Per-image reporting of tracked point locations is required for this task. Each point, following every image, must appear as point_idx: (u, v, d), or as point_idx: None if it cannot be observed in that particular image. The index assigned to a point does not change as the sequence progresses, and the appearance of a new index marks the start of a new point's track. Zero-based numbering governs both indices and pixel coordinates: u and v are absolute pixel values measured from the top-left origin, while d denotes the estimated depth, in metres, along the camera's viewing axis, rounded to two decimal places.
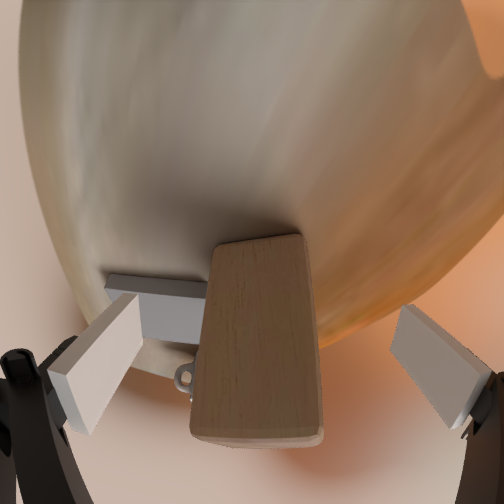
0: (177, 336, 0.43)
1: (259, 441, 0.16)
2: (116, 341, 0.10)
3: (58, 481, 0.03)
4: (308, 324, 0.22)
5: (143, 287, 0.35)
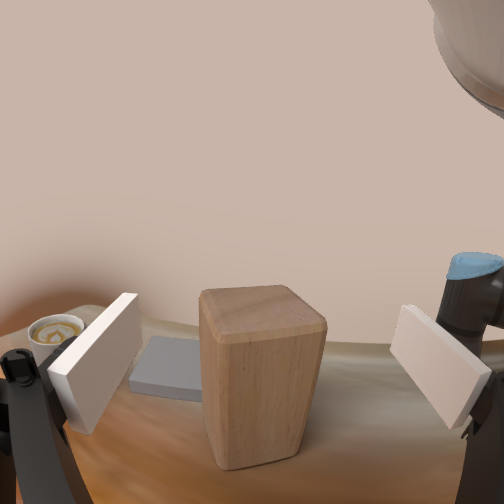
0: (152, 362, 0.42)
1: (302, 301, 0.27)
2: (116, 341, 0.10)
3: (58, 480, 0.03)
4: None
5: None
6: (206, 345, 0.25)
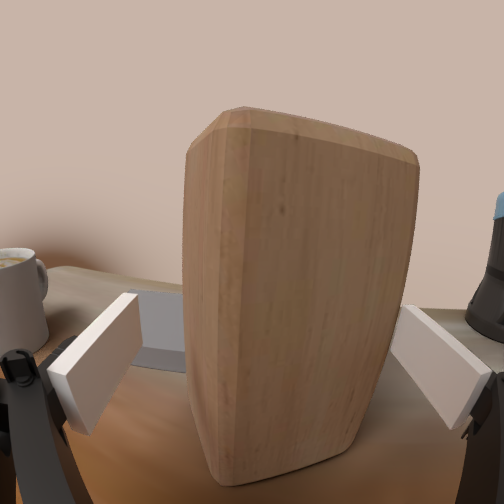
0: None
1: None
2: (116, 341, 0.10)
3: (57, 480, 0.03)
4: None
5: None
6: (193, 204, 0.13)
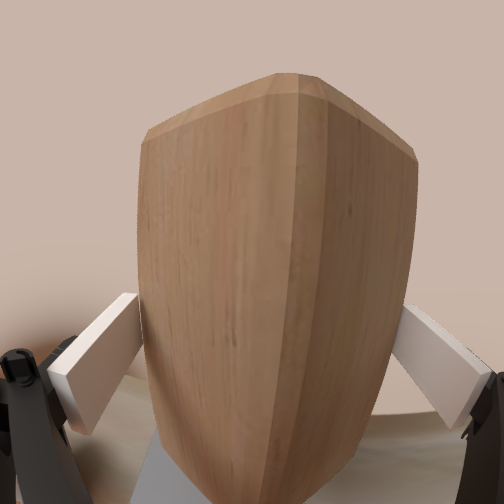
0: (158, 480, 0.22)
1: None
2: (116, 341, 0.10)
3: (58, 480, 0.03)
4: None
5: None
6: (183, 208, 0.09)
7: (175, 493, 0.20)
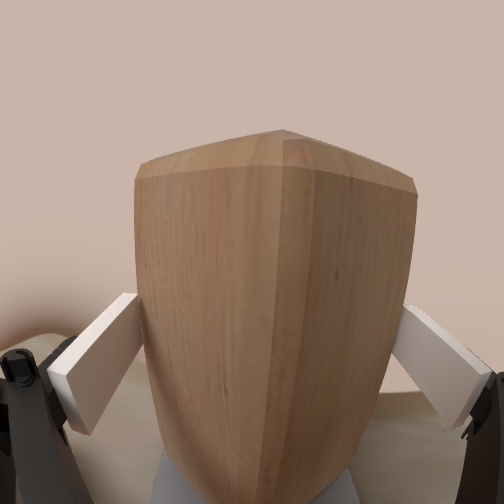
0: None
1: None
2: (116, 341, 0.10)
3: (58, 480, 0.03)
4: None
5: None
6: (176, 261, 0.09)
7: None
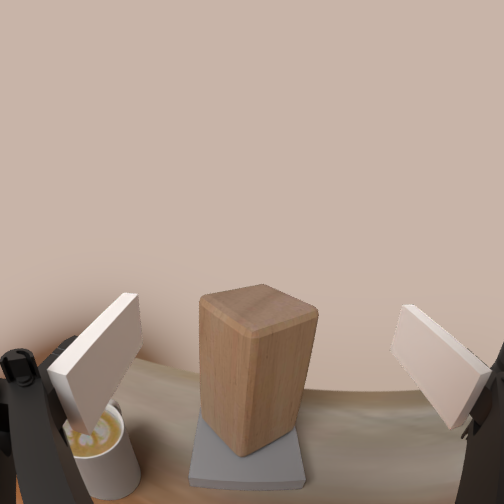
0: (211, 448, 0.30)
1: (290, 296, 0.33)
2: (116, 341, 0.10)
3: (58, 481, 0.03)
4: None
5: None
6: (221, 344, 0.28)
7: (227, 457, 0.29)
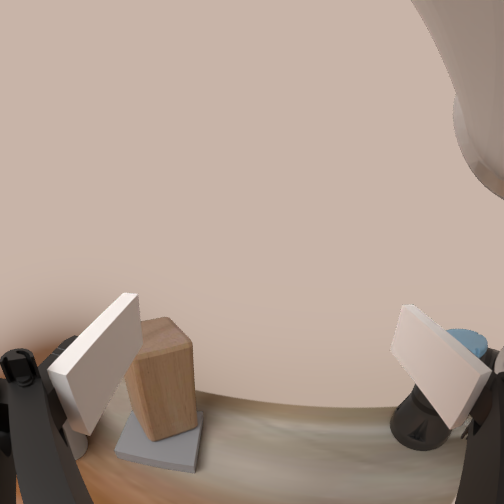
0: (134, 432, 0.40)
1: (177, 328, 0.42)
2: (116, 341, 0.10)
3: (58, 480, 0.03)
4: (194, 385, 0.42)
5: (199, 434, 0.43)
6: None
7: (143, 440, 0.39)
